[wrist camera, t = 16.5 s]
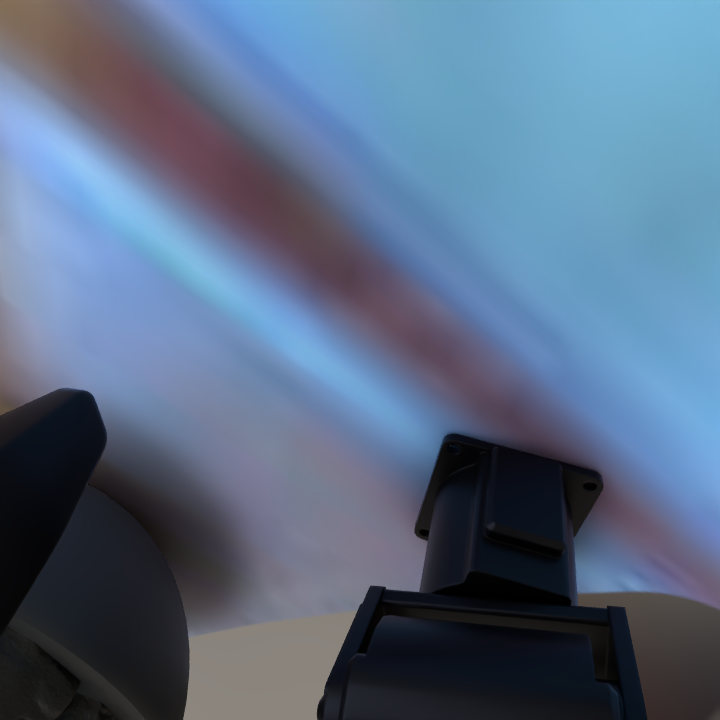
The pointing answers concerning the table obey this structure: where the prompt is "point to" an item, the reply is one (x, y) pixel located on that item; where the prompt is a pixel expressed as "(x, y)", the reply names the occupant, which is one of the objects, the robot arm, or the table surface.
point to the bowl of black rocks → (98, 627)
